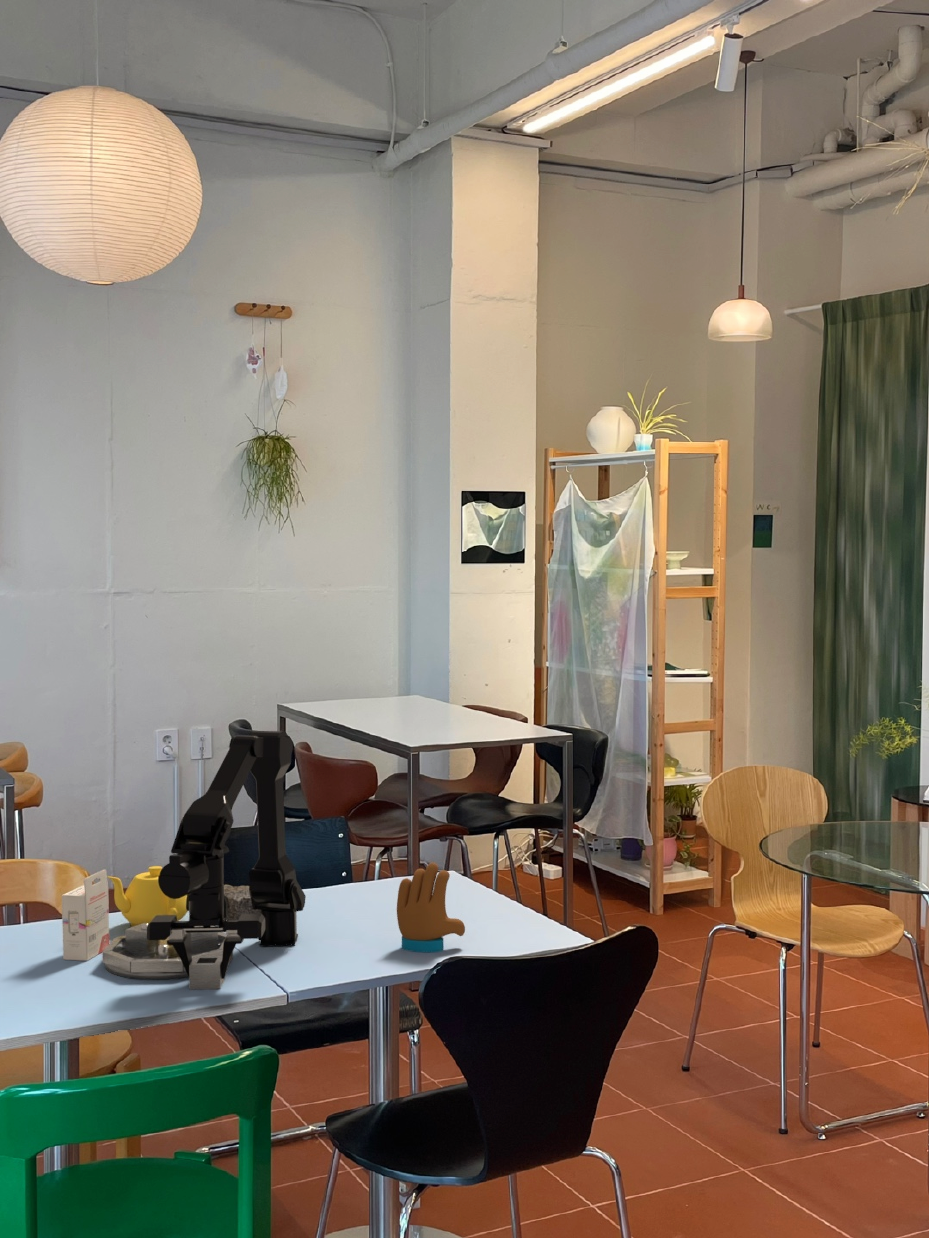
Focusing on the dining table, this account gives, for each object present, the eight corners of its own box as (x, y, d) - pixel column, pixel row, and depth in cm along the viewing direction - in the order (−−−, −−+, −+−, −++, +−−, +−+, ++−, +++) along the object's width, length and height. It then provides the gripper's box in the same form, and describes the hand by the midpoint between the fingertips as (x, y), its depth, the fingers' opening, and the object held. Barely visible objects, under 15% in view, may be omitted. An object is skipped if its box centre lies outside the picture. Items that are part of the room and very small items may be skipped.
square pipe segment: (224, 979, 211) (224, 955, 211) (220, 988, 206) (219, 964, 206) (195, 979, 210) (194, 956, 210) (189, 989, 206) (189, 964, 205)
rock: (287, 922, 249) (256, 908, 261) (287, 889, 249) (257, 877, 261) (226, 929, 242) (198, 915, 254) (227, 896, 242) (199, 883, 255)
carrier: (241, 942, 233) (241, 911, 233) (222, 978, 211) (222, 944, 211) (122, 944, 232) (121, 912, 232) (90, 980, 210) (90, 946, 210)
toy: (467, 944, 231) (466, 863, 230) (453, 955, 224) (453, 871, 224) (406, 939, 235) (406, 859, 234) (391, 949, 228) (391, 867, 228)
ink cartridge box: (85, 946, 231) (84, 867, 231) (110, 948, 230) (109, 868, 230) (61, 960, 223) (60, 877, 222) (87, 961, 222) (86, 878, 221)
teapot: (127, 943, 233) (126, 882, 233) (93, 927, 244) (92, 869, 244) (222, 924, 246) (221, 866, 246) (185, 910, 257) (185, 854, 257)
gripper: (268, 873, 216) (269, 962, 216) (159, 874, 215) (160, 964, 216) (260, 888, 205) (261, 983, 205) (145, 889, 204) (146, 984, 205)
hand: (207, 978), depth 208 cm, fingers closed on square pipe segment, 5 cm apart
